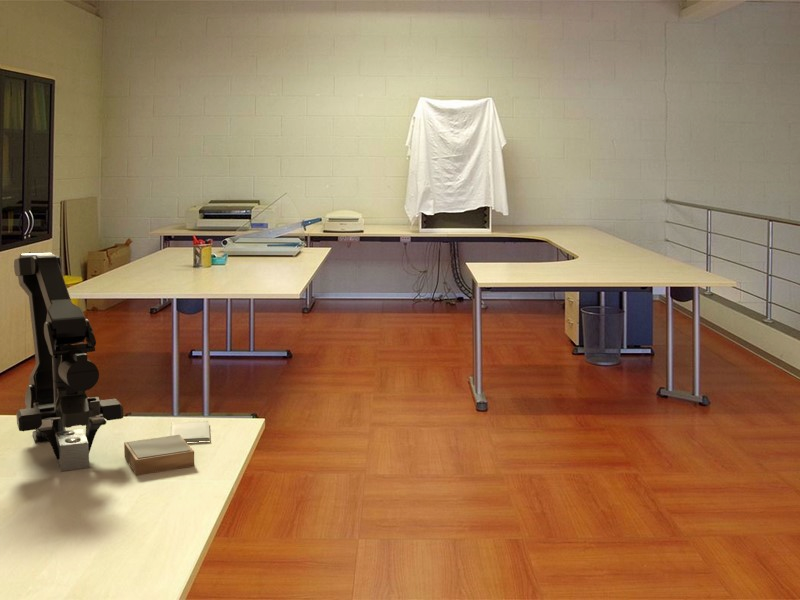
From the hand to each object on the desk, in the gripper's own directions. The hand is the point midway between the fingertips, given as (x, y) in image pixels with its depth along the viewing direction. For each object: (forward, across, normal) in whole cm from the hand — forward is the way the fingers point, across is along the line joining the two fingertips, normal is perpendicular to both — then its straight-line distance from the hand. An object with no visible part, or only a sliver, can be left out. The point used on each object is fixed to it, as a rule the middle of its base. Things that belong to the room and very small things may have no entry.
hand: (72, 456), depth 157 cm
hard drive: (+2, +25, +7) cm, 26 cm away
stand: (+1, +15, -7) cm, 17 cm away
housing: (+1, 0, 0) cm, 1 cm away
